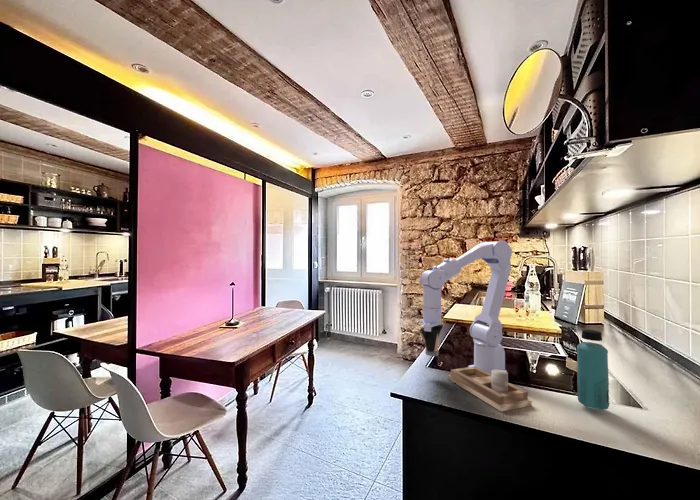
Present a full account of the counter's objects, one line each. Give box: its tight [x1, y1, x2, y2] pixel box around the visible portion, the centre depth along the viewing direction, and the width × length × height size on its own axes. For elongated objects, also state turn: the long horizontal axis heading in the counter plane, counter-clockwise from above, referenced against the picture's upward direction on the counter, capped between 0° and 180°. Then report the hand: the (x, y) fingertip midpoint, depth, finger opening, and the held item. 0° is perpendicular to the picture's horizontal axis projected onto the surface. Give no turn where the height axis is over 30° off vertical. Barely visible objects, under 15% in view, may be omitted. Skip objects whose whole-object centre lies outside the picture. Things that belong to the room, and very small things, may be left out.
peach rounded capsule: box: [425, 335, 439, 357], centre depth 99 cm, size 4×4×7 cm
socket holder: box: [447, 366, 532, 412], centre depth 88 cm, size 10×21×7 cm, turn 19°
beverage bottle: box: [576, 329, 611, 411], centre depth 78 cm, size 6×7×20 cm
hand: (431, 349), depth 99 cm, fingers closed on peach rounded capsule, 4 cm apart
